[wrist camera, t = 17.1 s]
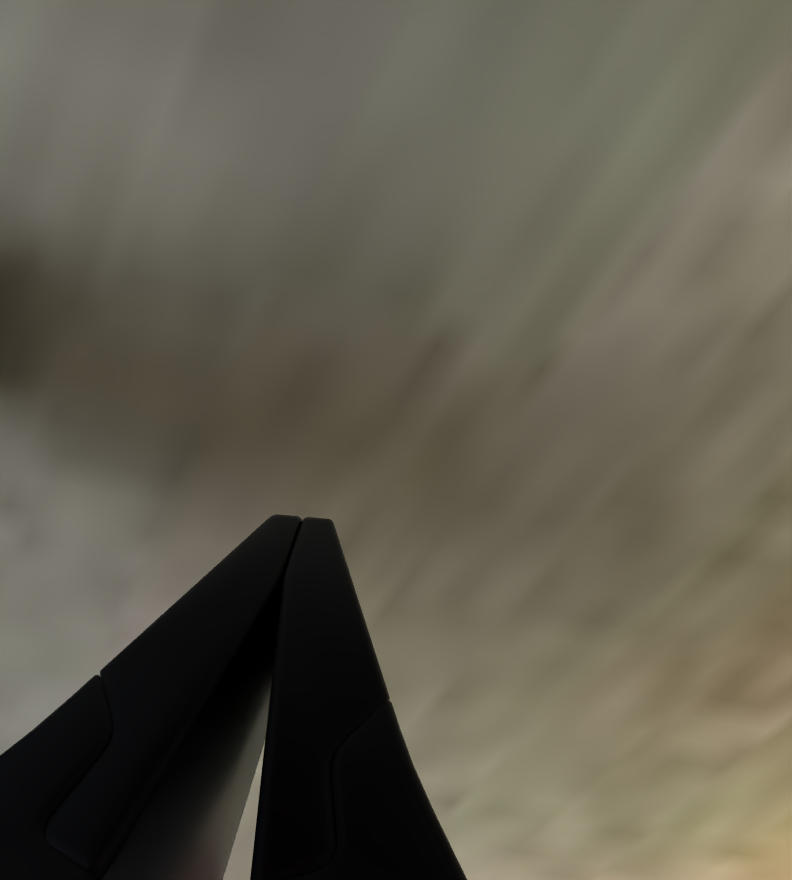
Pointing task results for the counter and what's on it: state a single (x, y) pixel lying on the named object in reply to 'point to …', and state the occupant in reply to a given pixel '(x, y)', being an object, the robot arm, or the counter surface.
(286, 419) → the counter surface
